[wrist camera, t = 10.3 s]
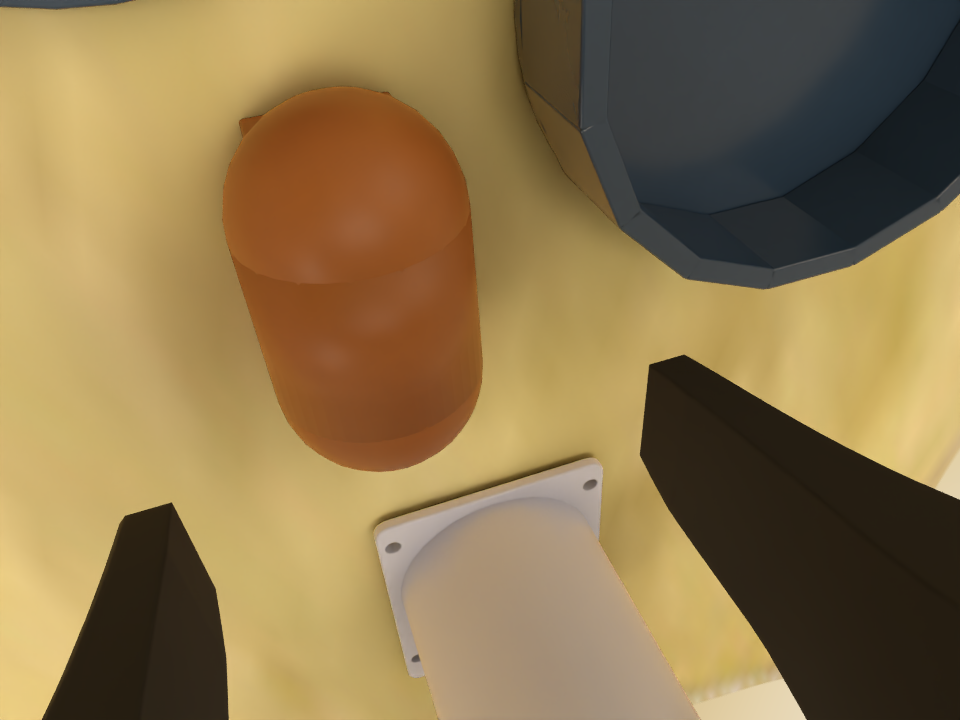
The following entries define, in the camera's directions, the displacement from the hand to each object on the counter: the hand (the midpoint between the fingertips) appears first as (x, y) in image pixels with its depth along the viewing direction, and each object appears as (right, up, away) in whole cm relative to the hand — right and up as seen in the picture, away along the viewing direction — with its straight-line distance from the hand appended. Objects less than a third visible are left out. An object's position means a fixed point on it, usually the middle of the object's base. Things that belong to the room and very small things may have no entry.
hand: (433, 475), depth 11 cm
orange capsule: (-3, +5, +7) cm, 9 cm away
